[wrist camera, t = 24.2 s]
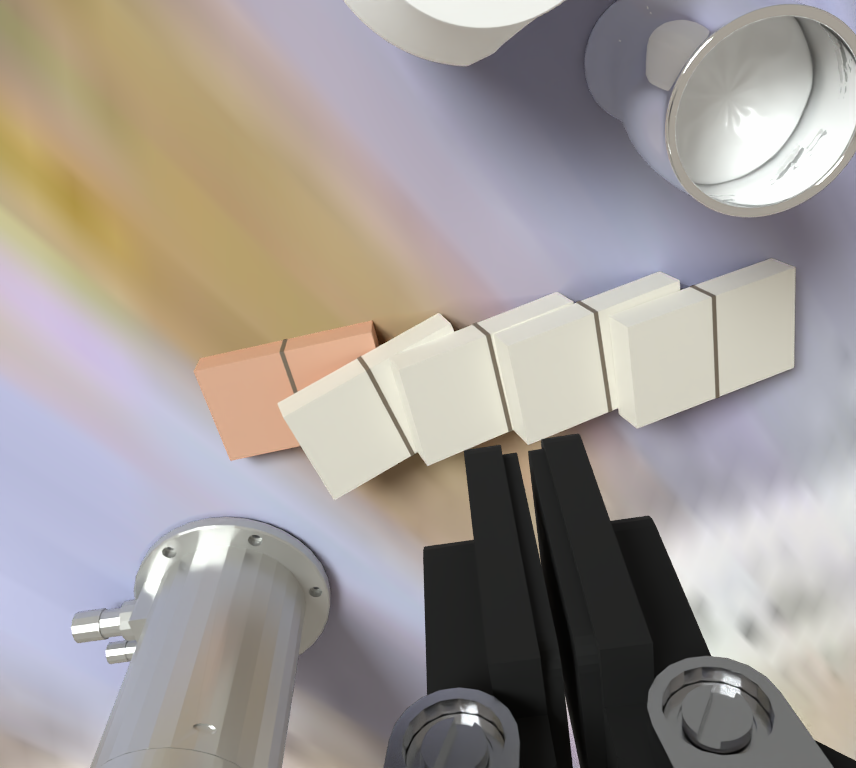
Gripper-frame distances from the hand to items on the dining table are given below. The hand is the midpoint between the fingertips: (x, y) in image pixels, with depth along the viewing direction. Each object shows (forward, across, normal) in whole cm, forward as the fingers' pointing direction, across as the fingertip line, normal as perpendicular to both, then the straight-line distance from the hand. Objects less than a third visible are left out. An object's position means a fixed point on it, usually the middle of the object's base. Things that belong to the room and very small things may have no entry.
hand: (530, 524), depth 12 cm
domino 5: (+31, -17, +13) cm, 38 cm away
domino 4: (+31, -11, +13) cm, 36 cm away
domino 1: (+32, +5, +13) cm, 35 cm away
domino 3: (+31, -5, +13) cm, 34 cm away
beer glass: (+32, -10, -1) cm, 34 cm away
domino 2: (+31, +1, +13) cm, 34 cm away
